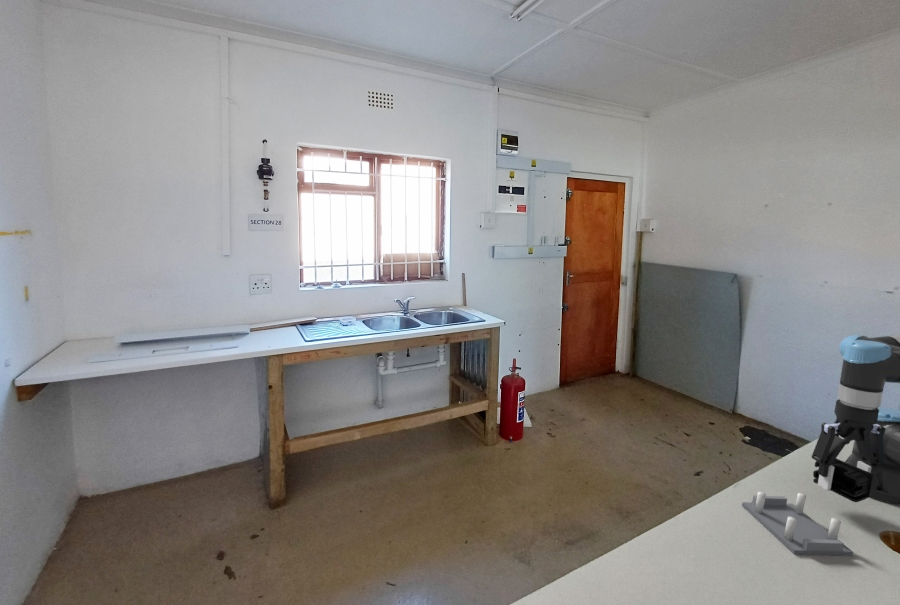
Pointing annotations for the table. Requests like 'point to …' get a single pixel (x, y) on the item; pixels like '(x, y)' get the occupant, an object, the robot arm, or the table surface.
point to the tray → (796, 526)
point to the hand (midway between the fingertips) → (842, 487)
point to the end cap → (850, 481)
